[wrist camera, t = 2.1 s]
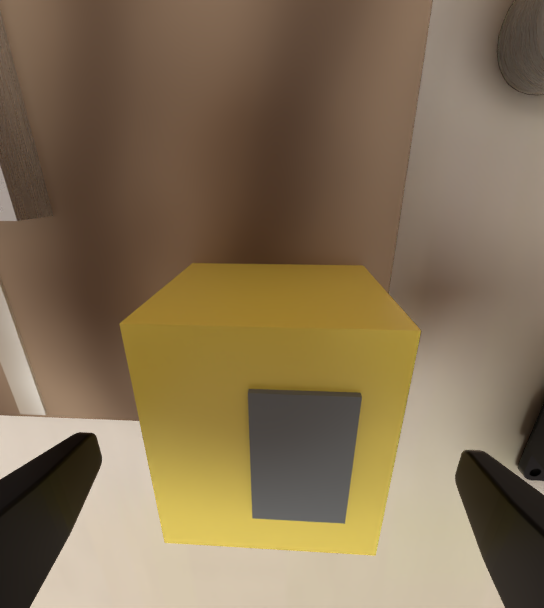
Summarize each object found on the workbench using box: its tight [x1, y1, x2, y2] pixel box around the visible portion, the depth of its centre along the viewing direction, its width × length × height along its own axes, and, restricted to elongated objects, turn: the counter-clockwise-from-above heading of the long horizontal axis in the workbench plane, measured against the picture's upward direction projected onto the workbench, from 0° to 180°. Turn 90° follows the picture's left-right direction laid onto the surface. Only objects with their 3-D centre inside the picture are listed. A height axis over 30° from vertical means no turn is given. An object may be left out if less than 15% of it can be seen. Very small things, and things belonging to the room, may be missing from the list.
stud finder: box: [119, 263, 421, 555], centre depth 10 cm, size 6×7×5 cm
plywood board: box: [0, 0, 433, 421], centre depth 11 cm, size 20×16×1 cm
